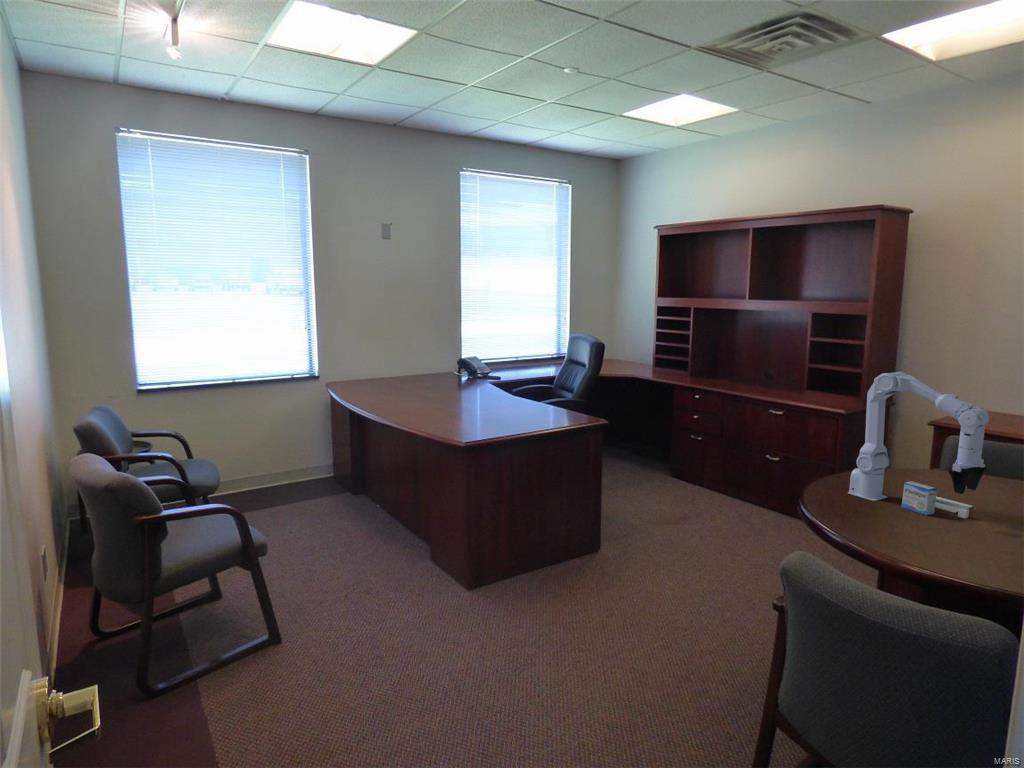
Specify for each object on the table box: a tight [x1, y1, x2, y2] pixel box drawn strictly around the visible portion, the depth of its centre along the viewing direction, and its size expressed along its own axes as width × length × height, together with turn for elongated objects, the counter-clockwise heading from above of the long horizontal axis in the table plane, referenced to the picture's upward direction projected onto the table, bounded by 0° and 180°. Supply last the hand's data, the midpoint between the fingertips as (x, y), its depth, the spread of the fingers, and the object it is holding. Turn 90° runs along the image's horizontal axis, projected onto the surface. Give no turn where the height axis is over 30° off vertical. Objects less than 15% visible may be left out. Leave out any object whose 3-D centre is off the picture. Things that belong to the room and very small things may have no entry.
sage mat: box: [935, 495, 974, 514], centre depth 201 cm, size 14×12×1 cm
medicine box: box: [901, 481, 938, 516], centre depth 194 cm, size 8×4×9 cm, turn 25°
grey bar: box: [936, 498, 970, 510], centre depth 195 cm, size 18×1×1 cm, turn 30°
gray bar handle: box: [957, 509, 970, 519], centre depth 196 cm, size 18×2×2 cm, turn 30°
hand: (965, 491), depth 183 cm, fingers open, 7 cm apart
